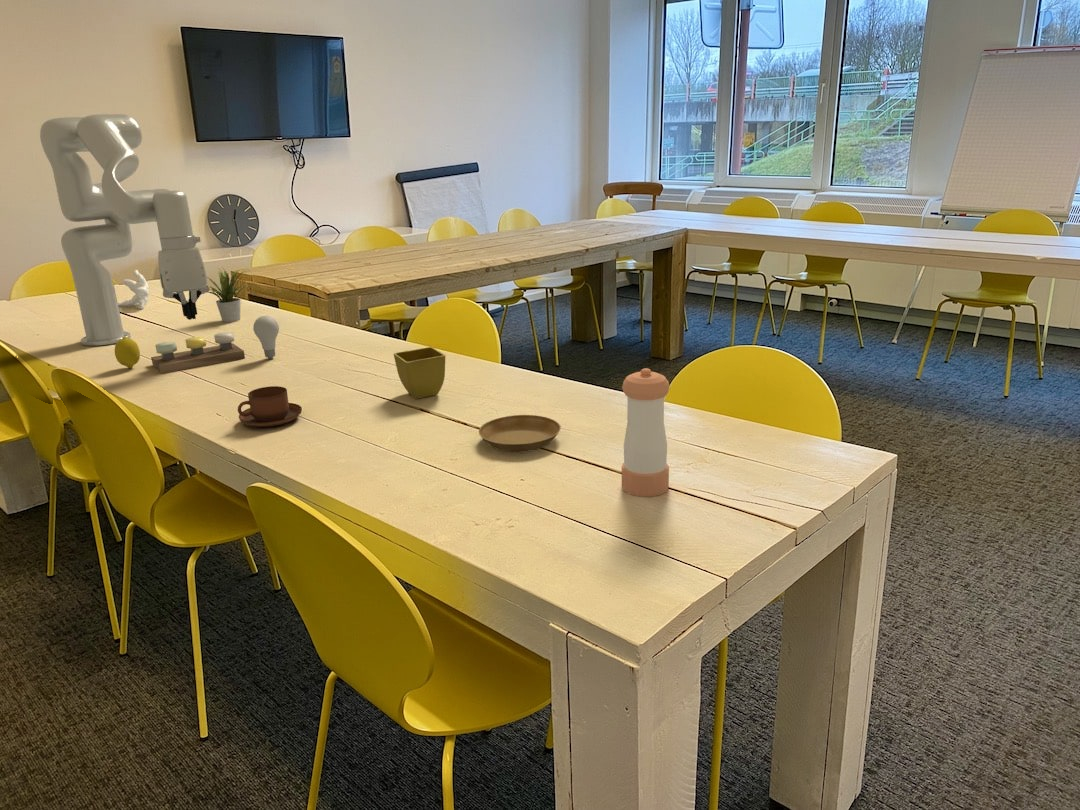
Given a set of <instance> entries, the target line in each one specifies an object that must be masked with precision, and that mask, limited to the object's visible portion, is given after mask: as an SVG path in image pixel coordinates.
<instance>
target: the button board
mask: <svg viewBox="0 0 1080 810" xmlns="http://www.w3.org/2000/svg"><path fill="white" fill-rule="evenodd" d="M231 344H232V349H231V350H225V351H221V350H220V345H219V344H218V345H213V346H208V347H203V351H204V354H202V355H197V356H192V353H191V349H190V350H184V351H181V352H180V351H178V352H173V353H174V360H168V361H162V355H161V354H160V355H156V356H151V357H150V358H151V363H152V365H153V366H152V367H154V368H155V369H156V370H157V371H158V372H159V373H160V374H166V373H172V372H176V371H183V370H188V369H193V368H198V367H204V366H210V365H214V364H221V363H226V362H232V361H237V360H241V359H246V357H245V351H244V350H243V349H242V348H240V346H237V345H236V344H234V342H231Z"/></svg>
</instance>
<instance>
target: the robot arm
mask: <svg viewBox="0 0 1080 810" xmlns="http://www.w3.org/2000/svg"><path fill="white" fill-rule="evenodd" d="M39 138H40V139H39V140H40V142H41V147H42V150H43V152H44V154H45V156H46V158H47V160H48V162H49V164H50V166H51V170H52V173H53V178H54V182H55V183H54V184H55V188H56V192H57V197H58V203H59V206H60V210H61V212H62V215H63V217H64V218H65V219H66V220H68V221H70V222H75V223H80V222H81V223H82V222H91V221H93V222H94V221H102V220H104V223H105V224H96V225H95V224H94V225H87V226H86V225H85V226H78V227H73V228H70V229H67V230H66V231H65V232H64V233H63V234H62V236H61V240H60V242H61V243H60V244H61V248H62V250H63V253H64V255H65V258H66V260H67V263H68V265H69V268H70V272H71V275H72V279H73V282H74V288H75V291H76V296H77V301H78V305H79V310H80V313H81V314H80V315H81V319H82V324H83V327H84V332H85V336H84V337H82V338H81V339H80V344H81V345H83V346H89V347H91V346H92V347H93V346H105V345H112V344H116V343H117V342H118V341H119V340H120V339H122V338H123V337H126V338H129V339H131V333H130V332H129V331H124V328H123V327H124V326H123V322H122V318H121V313H120V309H119V306H118V303H119V302H118V299H117V294H116V288H115V284H114V279H113V276H112V274H111V273H110V271H109V270H108V269H107V268H106V267H105V266H104V265H103V264H101V262H103V261H108V260H115V259H119V258H124V257H127V256H129V255H130V254H131V252H132V249H133V237H132V233H131V227H130V225H136V224H137V225H139V224H145V223H146V224H147V223H151V222H152V223H153V222H155V223H156V224H157V225H156V226H157V231H158V236H159V237H158V238H159V242H160V249H161V250H158V252H157V253H158V255H157V257H158V258H157V259H158V260H157V261H158V262H157V263H158V271H159V278H160V279H159V280H160V286H161V289H162V297H163V298H167V299H175V300H177V301H178V302H179V303H180V304H181V309H182V314H183V317H185V318H186V319H187V320H189V321H191V320H196V319H197V318H196V317H197V315H198V309H197V300H198V299H199V298H200V297H201V295H204V294H207V292H211V291H210V286H209V284H208V282H209V281H208V278H207V277H208V275H207V272H206V268H205V264H204V261H203V257H202V255H201V252H200V249H199V248H198V247H197V245H196V244H198V243H201V242H202V241H201V237H200V236H195V235H194V231H193V227H192V226H193V224H192V221H191V215H190V208H189V201H188V197H187V194H186V193H185V192H183V191H181V190H170V189H167V188H157V189H156V188H155V189H154V188H153V189H142V190H132V191H130V190H129V191H126V190H125V189H124V188H123V187H122V185H121V184H120V183H122V182H123V181H125V180H126V179H128V178H130V176H132V175H134V173H135V172H136V171H137V169H138V168H139V163H140V159H139V157H138V155H137V154H136V152H135V151H134V150H133V149H136V148H138V147H139V146H140V145H141V143H142V140H143V135H142V129H141V127H140V125H139V124H138V122H137V121H136V120H135V119H134V118H133V117H131V116H130V115H128V114H123V113H121V114H120V113H119V114H118V113H117V114H116V113H115V114H112V113H111V114H108V113H107V114H105V113H103V114H102V113H101V114H90V115H86V116H82V117H81V116H79V117H78V116H73V117H71V116H70V117H69V116H67V117H66V116H65V117H55V118H52V119H48V120H46V121H45V122H42V124H41V126H40V131H39ZM81 152H83V153H85V152H89V153H90V154H91V155H92V156H93V158H94V160H95V161H96V162H97V163H98V164H99V165H100V167H101V169H103V173H102V176H101V182H99V183H93V181H92V177H91V171H90V168H89V165H88V164H87V162H86V161H85V160H84V159H83V158H82V156H80V155H79V153H81ZM185 292H188V300H187V299H186V296H185Z"/></svg>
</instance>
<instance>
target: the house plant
mask: <svg viewBox="0 0 1080 810" xmlns="http://www.w3.org/2000/svg"><path fill="white" fill-rule="evenodd" d="M221 268H222V270H221V269H220V268H218V270H219V271H218V277H219V282H220V283H219V284H220V286H221V288H220V287H219V286H218V285H217V283H216V282H215V281H213V279H211V278H210V277H208V276H207V280H209V281H210V282H211V283H212V285H214V286H215V287H216V288H217V289H216V288H214V286H209V289H210V288H211V290H212V291H209V292H207V293H209V294H212V295H213V296H215V297H217V298H218V300H216V301H215V303H216V306H217V309H218V312H219V315H220V318H221V320H222V322H223V323H234V321H235V322H239V321H240V320H241V297H240V298H239V297H237V296H238V294H239V293H240V292H241V291H242V289H243V288H244V289H246V286H247V284H246V285H244V286H239V287H237V286H238V283H239V282H240V280H241V279H243V278H244V277H246V275H244V276H241V275H242V274H243V273H245V272H249V271H250V269H249V270H244V271H242V272H240V273H238V271H240V269H237V270H235V271H234V273H233V274H232V275H231V277H229V273H228V272H227V271H226V270H225V268H224V267H223V266H222V267H221ZM222 271H223V272H222ZM240 276H241V277H240ZM239 277H240V278H239ZM238 278H239V279H238ZM237 280H238V281H237ZM207 293H206V294H207ZM238 320H239V321H238Z"/></svg>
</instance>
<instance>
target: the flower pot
mask: <svg viewBox="0 0 1080 810" xmlns="http://www.w3.org/2000/svg"><path fill="white" fill-rule="evenodd" d="M393 358H394V362H395V367H396V369H397V375H398V377H399V380H400V382H401V384H402V386H403V387H404V389H405V390H406V391H407V393H408V394H409V395H411V397H413V399H421V398H425V397H426V398H427V397H431V396H436V395H438V394H439V393H440V391H441V389H442V387H443V385H444V382H445V374H446V354H444V353H443V352H441V351H439V350H438V349H436V348H435V347H432V346H427V347H421V348H416V349H412V350H411V349H410V350H405V351H399V352H398V351H397V352H394V353H393Z"/></svg>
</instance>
